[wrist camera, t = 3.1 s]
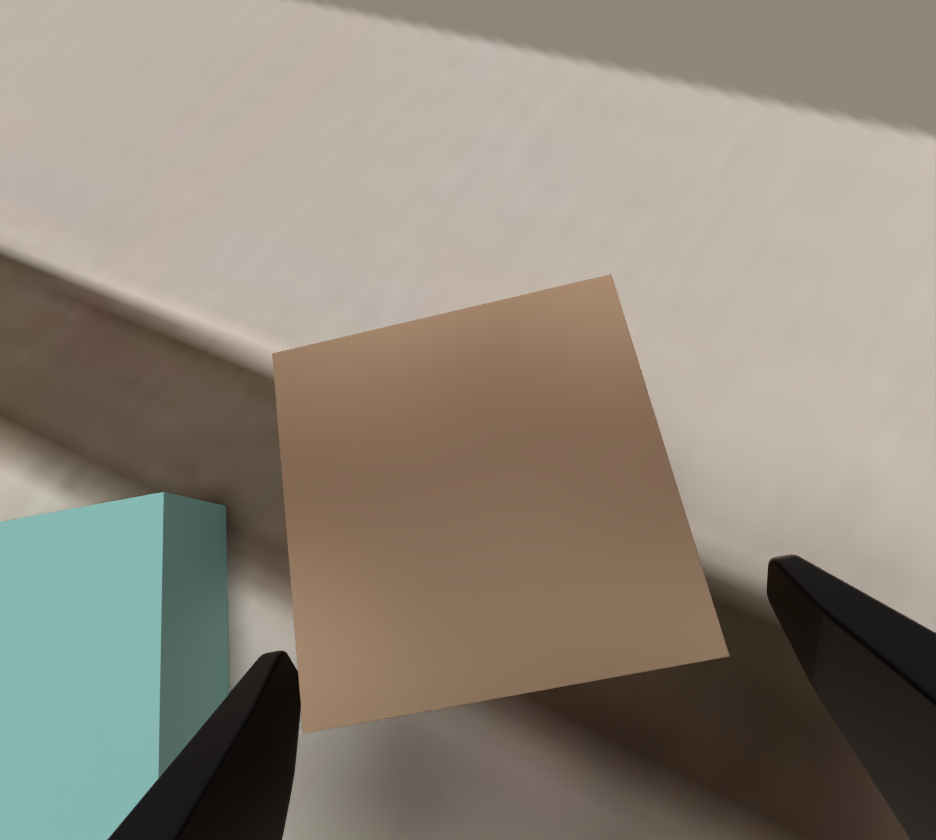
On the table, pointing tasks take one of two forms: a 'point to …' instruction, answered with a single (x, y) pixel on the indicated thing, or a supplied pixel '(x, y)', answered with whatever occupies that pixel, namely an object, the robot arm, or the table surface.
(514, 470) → the walnut pillar
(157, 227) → the table surface
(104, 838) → the teal plinth
